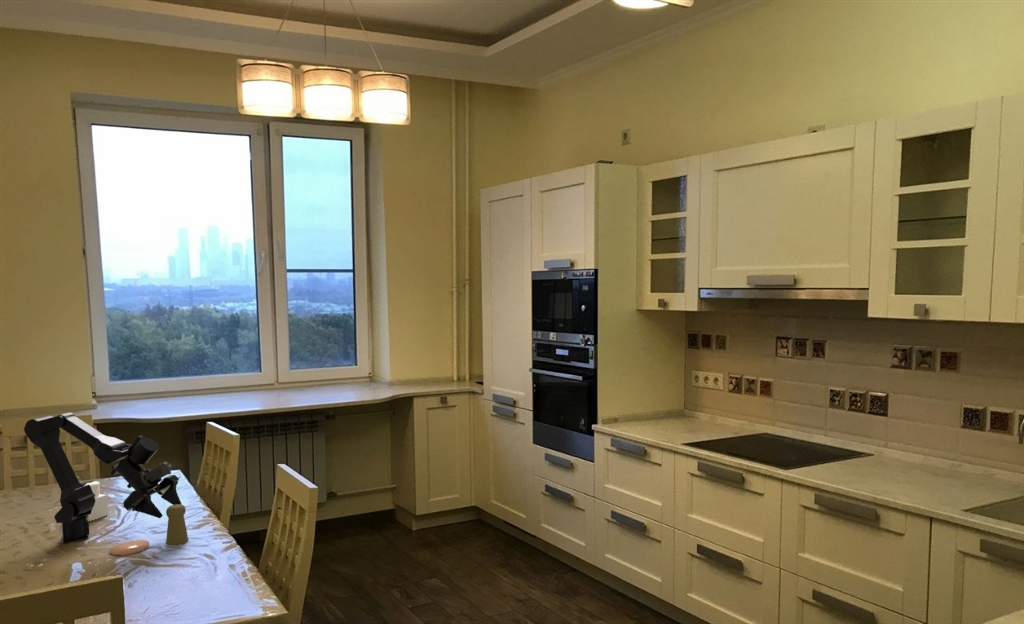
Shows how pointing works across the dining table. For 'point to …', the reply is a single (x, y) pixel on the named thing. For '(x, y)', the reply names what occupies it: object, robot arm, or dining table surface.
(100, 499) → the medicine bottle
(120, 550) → the peach round disc
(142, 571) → the dining table surface
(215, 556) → the dining table surface
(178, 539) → the cork
